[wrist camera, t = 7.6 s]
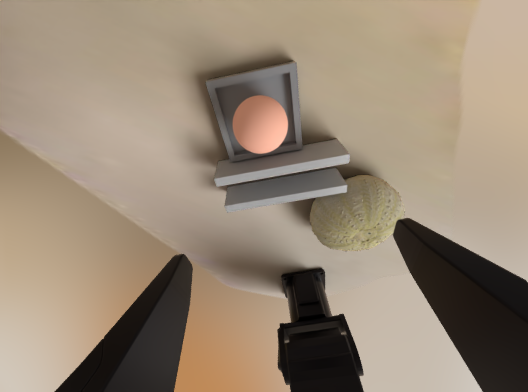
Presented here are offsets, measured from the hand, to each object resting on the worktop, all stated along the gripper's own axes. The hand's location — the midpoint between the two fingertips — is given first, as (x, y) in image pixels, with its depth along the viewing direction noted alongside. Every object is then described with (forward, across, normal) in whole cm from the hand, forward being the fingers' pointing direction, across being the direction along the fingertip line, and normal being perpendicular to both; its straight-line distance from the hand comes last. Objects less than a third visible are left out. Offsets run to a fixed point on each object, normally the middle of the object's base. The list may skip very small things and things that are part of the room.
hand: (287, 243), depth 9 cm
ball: (+11, 0, -2) cm, 12 cm away
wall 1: (+12, 0, +2) cm, 12 cm away
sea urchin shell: (+12, -8, +10) cm, 17 cm away
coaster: (+12, 0, -2) cm, 12 cm away
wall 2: (+12, 0, +5) cm, 13 cm away
